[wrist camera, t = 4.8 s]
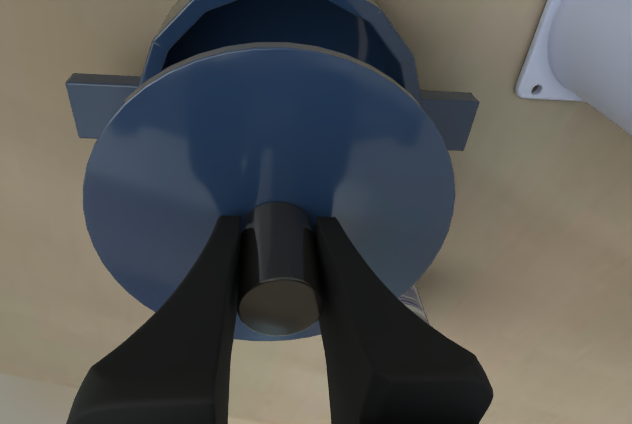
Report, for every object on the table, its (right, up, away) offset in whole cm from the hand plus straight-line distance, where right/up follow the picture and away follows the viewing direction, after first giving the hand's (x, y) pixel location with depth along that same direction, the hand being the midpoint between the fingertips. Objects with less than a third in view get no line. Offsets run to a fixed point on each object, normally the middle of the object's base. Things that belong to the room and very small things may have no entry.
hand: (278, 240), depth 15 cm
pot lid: (0, +1, +1) cm, 1 cm away
